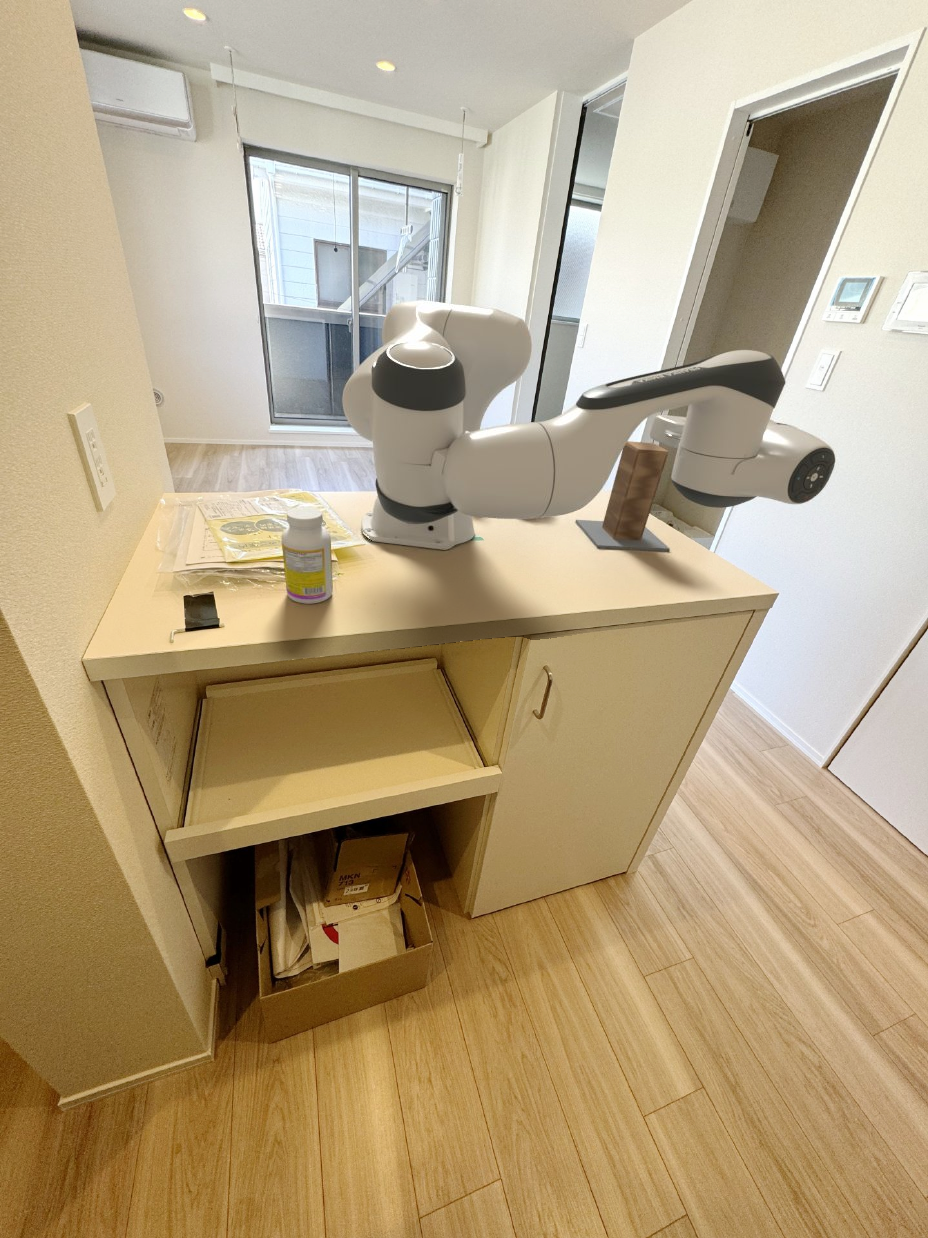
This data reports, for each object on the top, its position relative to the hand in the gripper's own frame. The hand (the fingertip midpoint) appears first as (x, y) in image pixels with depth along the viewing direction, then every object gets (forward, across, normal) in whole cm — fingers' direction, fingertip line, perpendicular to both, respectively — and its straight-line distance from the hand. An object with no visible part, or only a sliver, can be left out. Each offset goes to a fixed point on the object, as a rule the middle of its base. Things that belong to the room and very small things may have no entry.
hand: (691, 424), depth 87 cm
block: (+12, 0, -25) cm, 28 cm away
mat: (+12, 0, -26) cm, 29 cm away
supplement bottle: (-17, -62, -26) cm, 70 cm away
